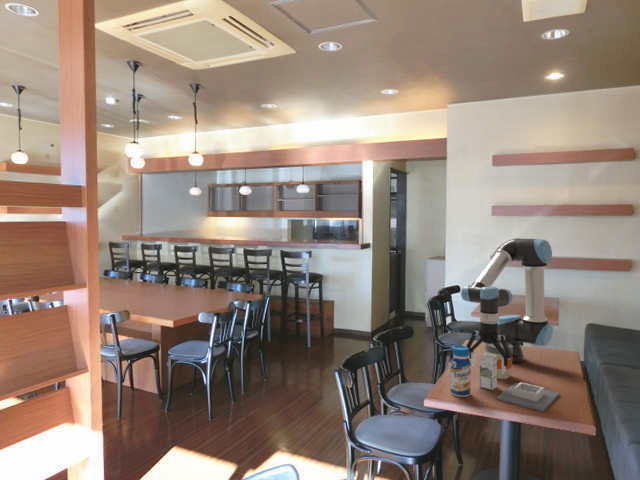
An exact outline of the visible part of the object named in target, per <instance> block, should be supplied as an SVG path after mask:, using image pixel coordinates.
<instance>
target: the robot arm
mask: <svg viewBox="0 0 640 480" xmlns="http://www.w3.org/2000/svg"><path fill="white" fill-rule="evenodd" d="M552 258H553V249H552V246H551V244H550V242H549V241H548V240H546V239H541V238H512V239H509V240H507V241H505V242H504V243H502V244H500V245H499V246H498V247H496V249H495V251H493V257H492V258H491V259H490V261H488V263H487V264H486V265H485V267H484V268H483V269H482V271H481V272H480V274H479V275H478V276H477V278H475V280H474V282H472V284H471V285H470V284H469V285H464V286H463V287H462V288H461V292H460V294H461V298H462V300H463V301H465V302H469V303H477V304H479V305H480V306H479V307H480V308H479V321H480V322H479V331H478V330H477V329H475V330H473V331H472V334H471V337H470V339H469V340H468V342H467V344H466V346H465V347H468V348H469V356H468V358H469V360H470V363H471V366H470V368H474V367H475V366H476V351H475V350H476V349H477V348H478V347H479V346H480V345H481V344H482V343H484V344H486V343H489V344H492V343H493V345H494V346H495V347H496V348H497V349H498V351H499V352H500V354H501V355H502V356H503V358H502V372H501V374H504V373H506V366H507V365H508V358H512V357H513V360H512V364H514V363H522V362H524V360H525V355H524V352H523V349H522V345H521V343H525V344H530V345H535V346H540V347H545V346H547V345H548V344H549V343H550V341H551V339H552V336H553V333H554V331H553V330H554V327H553V325H552V324H551V323H549V319H548V317H546V315H545V269H546V268H547V266H548V264H549V263H551V262H552ZM512 262H521V266H522V267H523V268H524V274H525V275H524V279H525V280H524V281H525V285H524V286H525V293H524V294H525V314H524V316H523V317H522V316H521V315H519V314H506V315H500V316H499V307H505V306H508V305H510V304H511V303H512V302H513V298H514V297H513V294H512V292H511V291H510V290H509V289H506V288H498V287H495V286H492V285H493V284H494V283H495V282H496V280H497V279H498V278H499V276H500V275H501V274H502V272H503V270H504V269H505V268H506V267H507V266H509V265H510V264H511V263H512ZM478 336H479V339H478V341H477V342H475V340H476V337H478ZM498 341H499V342H501V343H502V345H503V347H504V349H503V348H502V347H501V345H500V344H499V342H498ZM474 342H475V343H474ZM473 343H474V344H473ZM507 343H509V344H511V345H513V353H511V351H510V349H509V346H508V344H507ZM504 350H505V351H504Z"/></svg>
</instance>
